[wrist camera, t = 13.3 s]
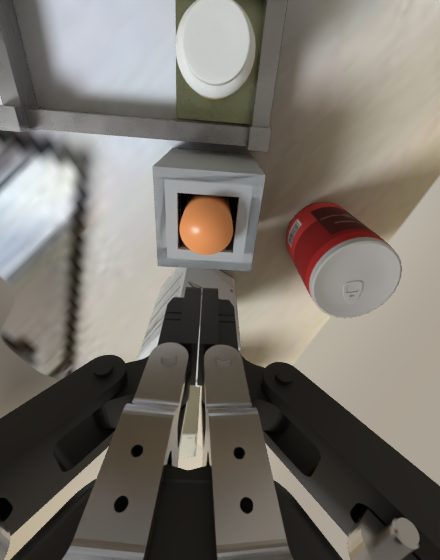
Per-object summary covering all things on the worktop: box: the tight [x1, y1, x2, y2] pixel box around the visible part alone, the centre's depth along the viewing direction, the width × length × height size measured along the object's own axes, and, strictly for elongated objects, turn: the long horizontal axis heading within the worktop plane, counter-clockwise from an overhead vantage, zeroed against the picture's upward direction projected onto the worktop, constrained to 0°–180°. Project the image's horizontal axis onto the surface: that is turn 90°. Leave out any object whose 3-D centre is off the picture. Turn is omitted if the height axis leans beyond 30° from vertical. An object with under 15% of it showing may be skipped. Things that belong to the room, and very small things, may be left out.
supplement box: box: [137, 267, 241, 387], centre depth 31 cm, size 7×7×13 cm
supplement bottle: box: [175, 0, 256, 100], centre depth 20 cm, size 5×5×10 cm
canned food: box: [286, 203, 402, 318], centre depth 28 cm, size 8×8×11 cm
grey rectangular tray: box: [0, 0, 288, 152], centre depth 22 cm, size 23×12×4 cm, turn 86°
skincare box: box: [179, 385, 200, 457], centre depth 40 cm, size 6×4×12 cm
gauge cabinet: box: [153, 148, 266, 271], centre depth 26 cm, size 8×8×10 cm
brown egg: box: [179, 194, 233, 255], centre depth 23 cm, size 4×4×6 cm
